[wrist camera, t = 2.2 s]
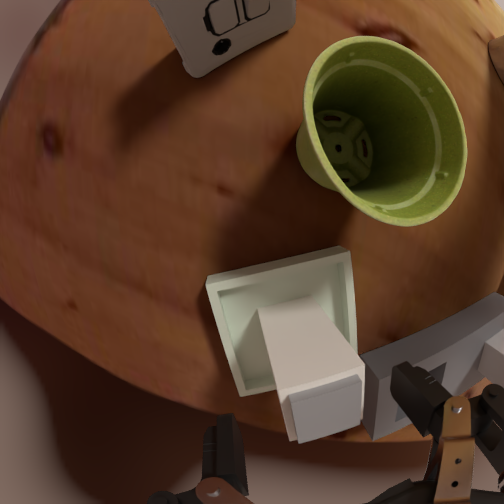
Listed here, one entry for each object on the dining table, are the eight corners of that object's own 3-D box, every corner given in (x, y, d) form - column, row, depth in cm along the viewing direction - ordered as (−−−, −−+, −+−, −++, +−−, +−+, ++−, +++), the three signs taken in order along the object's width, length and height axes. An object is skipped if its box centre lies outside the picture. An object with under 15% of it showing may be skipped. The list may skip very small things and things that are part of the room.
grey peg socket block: (494, 291, 23) (555, 322, 12) (482, 351, 25) (531, 388, 14) (360, 354, 22) (419, 433, 12) (358, 416, 24) (397, 487, 14)
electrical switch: (195, 84, 17) (162, 1, 7) (159, 47, 16) (120, -28, 7) (295, 29, 16) (319, -52, 7) (255, -3, 15) (260, -80, 6)
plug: (311, 294, 19) (370, 371, 10) (317, 340, 20) (366, 426, 11) (257, 308, 19) (280, 399, 10) (267, 353, 20) (291, 449, 11)
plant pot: (261, 92, 17) (283, 27, 9) (376, 91, 17) (443, 52, 9) (282, 220, 19) (324, 242, 11) (395, 203, 19) (475, 215, 11)
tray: (338, 245, 20) (350, 250, 18) (348, 353, 22) (357, 365, 20) (207, 275, 19) (205, 284, 17) (239, 381, 22) (240, 396, 20)
